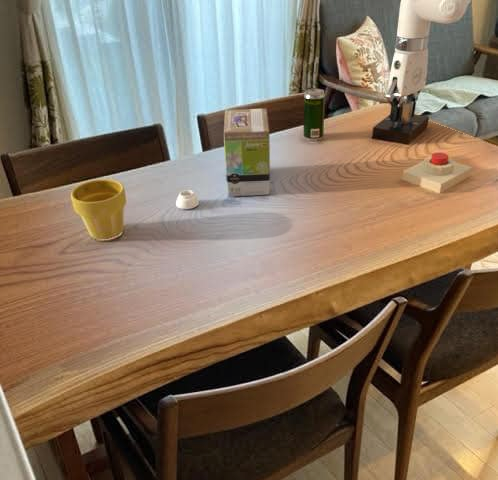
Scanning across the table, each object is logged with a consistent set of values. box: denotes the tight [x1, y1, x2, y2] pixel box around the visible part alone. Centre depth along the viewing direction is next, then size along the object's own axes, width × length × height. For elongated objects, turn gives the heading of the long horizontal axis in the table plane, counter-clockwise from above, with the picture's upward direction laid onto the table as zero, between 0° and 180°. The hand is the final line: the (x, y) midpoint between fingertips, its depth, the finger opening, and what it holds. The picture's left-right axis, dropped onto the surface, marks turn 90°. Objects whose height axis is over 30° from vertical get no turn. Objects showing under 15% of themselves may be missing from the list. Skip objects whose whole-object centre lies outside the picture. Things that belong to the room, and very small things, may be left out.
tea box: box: [223, 108, 271, 197], centre depth 122 cm, size 15×10×15 cm, turn 1°
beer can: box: [302, 88, 326, 142], centre depth 142 cm, size 5×5×12 cm
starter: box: [401, 155, 473, 194], centre depth 122 cm, size 12×10×4 cm
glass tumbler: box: [392, 98, 413, 125], centre depth 142 cm, size 5×5×6 cm
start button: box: [431, 152, 450, 166], centre depth 121 cm, size 4×4×2 cm
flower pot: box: [70, 178, 127, 242], centre depth 108 cm, size 10×10×10 cm
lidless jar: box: [175, 189, 200, 210], centre depth 118 cm, size 5×3×5 cm
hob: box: [371, 113, 430, 146], centre depth 145 cm, size 14×10×3 cm
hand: (401, 118), depth 143 cm, fingers closed on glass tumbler, 4 cm apart
